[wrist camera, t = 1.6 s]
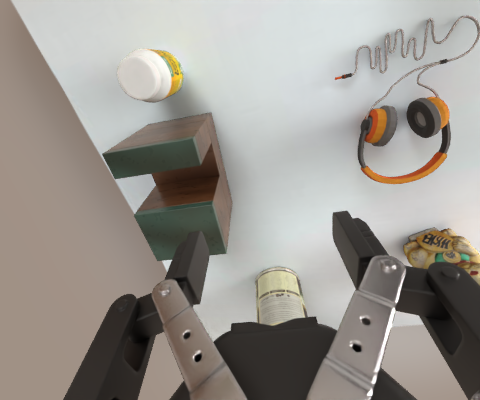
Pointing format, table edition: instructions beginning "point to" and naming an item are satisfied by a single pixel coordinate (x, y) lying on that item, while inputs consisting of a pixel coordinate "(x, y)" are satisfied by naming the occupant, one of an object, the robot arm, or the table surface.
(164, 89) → the supplement bottle
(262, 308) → the coffee can
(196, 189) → the notched wooden block
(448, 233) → the decorative figurine
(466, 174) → the table surface
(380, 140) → the headphones
